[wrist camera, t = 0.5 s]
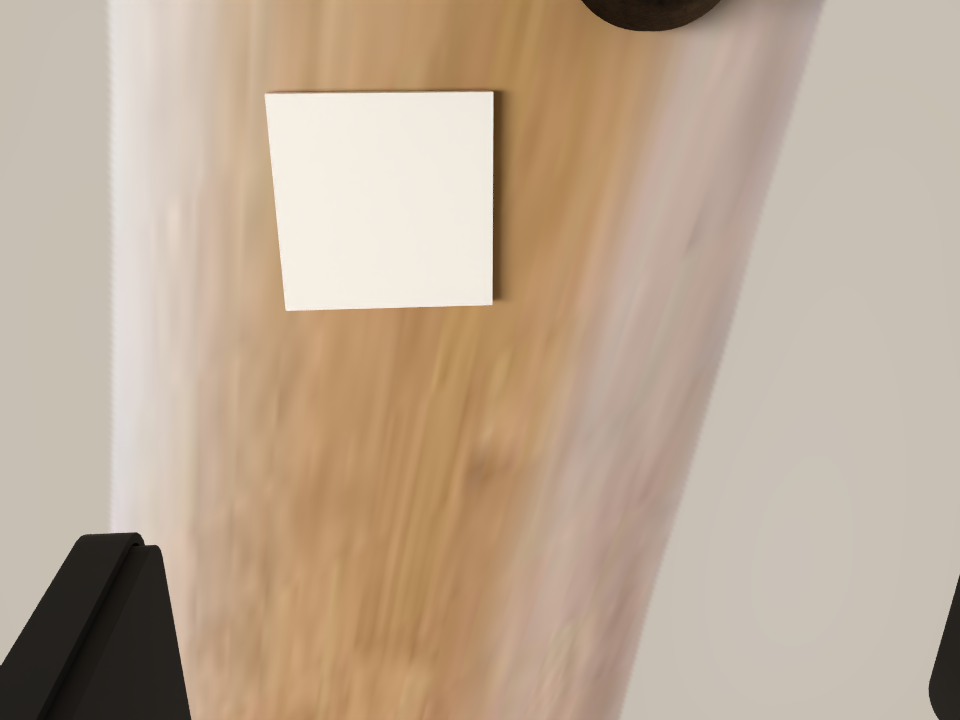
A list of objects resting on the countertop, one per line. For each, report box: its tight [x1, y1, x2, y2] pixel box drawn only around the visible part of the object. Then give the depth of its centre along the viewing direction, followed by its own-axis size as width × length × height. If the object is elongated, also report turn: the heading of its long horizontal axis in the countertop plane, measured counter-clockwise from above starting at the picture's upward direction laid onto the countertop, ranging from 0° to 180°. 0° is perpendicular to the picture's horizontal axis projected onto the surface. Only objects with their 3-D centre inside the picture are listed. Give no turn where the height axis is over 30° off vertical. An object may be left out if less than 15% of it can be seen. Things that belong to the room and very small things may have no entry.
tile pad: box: [265, 91, 493, 311], centre depth 35 cm, size 9×9×1 cm
